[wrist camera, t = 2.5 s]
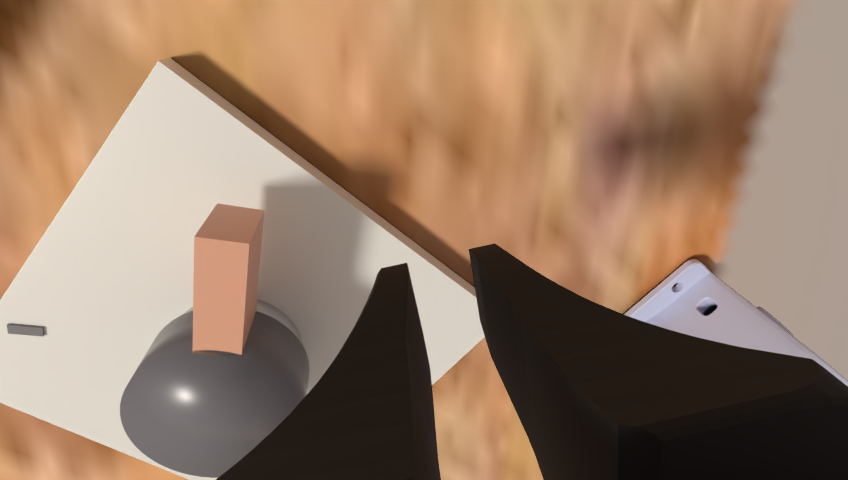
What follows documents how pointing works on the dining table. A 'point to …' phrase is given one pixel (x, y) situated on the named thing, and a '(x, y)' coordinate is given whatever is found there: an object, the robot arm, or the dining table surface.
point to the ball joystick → (216, 360)
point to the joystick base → (174, 259)
